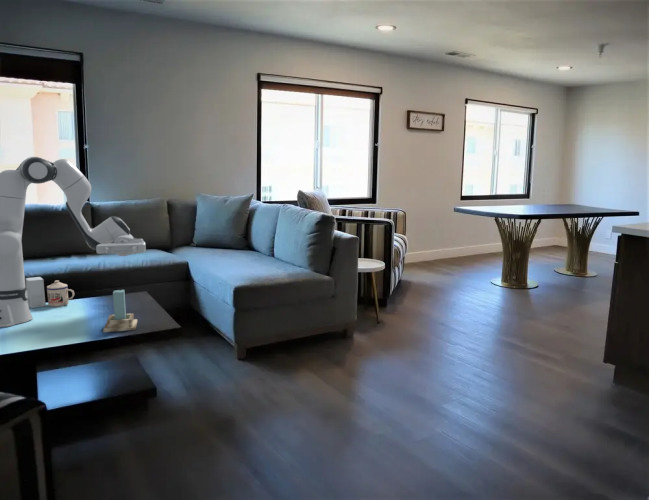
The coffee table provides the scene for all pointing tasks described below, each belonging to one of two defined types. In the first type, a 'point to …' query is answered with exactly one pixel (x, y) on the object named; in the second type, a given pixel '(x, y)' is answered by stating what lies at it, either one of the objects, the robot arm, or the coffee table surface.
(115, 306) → the post
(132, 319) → the socket
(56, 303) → the teacup with lid
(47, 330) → the coffee table surface
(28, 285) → the small box
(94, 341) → the coffee table surface
